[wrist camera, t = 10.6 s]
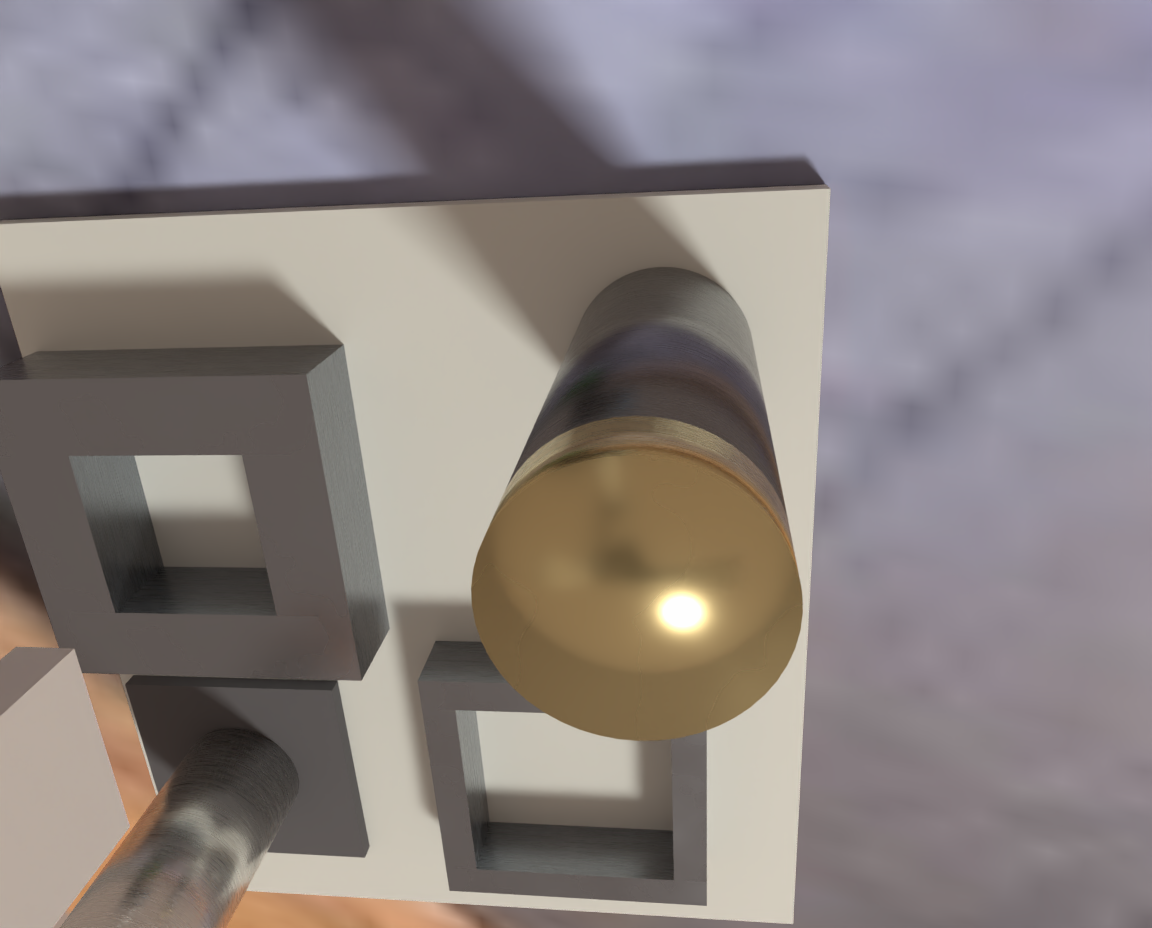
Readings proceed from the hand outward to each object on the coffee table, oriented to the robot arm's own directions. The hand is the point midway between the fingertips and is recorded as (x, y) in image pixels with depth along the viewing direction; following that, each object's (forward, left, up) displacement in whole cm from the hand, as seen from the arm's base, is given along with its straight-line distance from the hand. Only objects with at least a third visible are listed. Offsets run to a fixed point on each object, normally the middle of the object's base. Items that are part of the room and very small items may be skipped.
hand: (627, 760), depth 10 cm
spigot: (0, 0, -15) cm, 15 cm away
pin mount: (+4, -13, -15) cm, 20 cm away
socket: (+13, -3, -15) cm, 20 cm away
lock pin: (+14, -14, -14) cm, 24 cm away
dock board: (+8, -7, -16) cm, 19 cm away
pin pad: (+14, -14, -15) cm, 24 cm away
